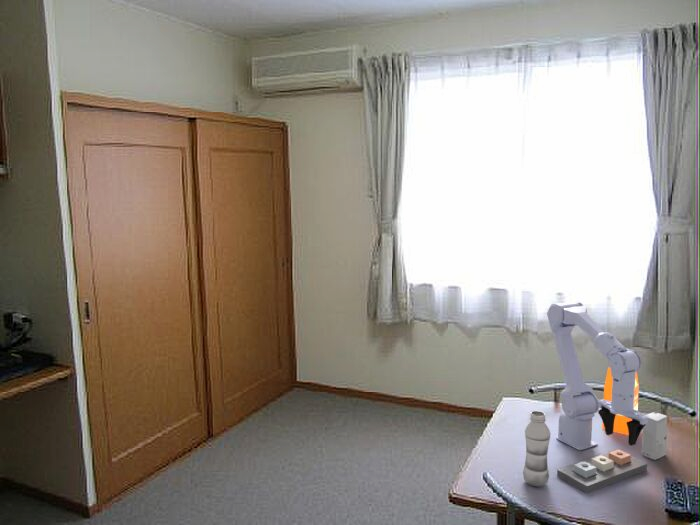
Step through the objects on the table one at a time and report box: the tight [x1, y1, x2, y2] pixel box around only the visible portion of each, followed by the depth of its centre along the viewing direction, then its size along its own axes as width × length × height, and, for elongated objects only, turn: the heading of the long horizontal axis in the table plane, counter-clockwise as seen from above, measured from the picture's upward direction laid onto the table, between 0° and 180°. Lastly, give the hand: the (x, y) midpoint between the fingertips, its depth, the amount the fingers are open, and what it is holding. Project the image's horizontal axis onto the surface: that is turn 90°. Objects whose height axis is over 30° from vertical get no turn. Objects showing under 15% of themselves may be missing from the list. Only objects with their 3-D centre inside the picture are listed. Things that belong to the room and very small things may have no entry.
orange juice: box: [601, 366, 640, 436], centre depth 188 cm, size 8×9×20 cm
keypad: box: [556, 448, 648, 494], centre depth 161 cm, size 10×24×2 cm, turn 117°
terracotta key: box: [608, 449, 632, 465], centre depth 164 cm, size 4×4×2 cm
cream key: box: [591, 454, 614, 471], centre depth 161 cm, size 4×4×2 cm
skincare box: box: [641, 411, 668, 461], centre depth 170 cm, size 6×4×12 cm
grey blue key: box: [573, 460, 596, 478], centre depth 158 cm, size 4×4×2 cm
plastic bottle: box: [522, 410, 551, 488], centre depth 155 cm, size 6×7×20 cm
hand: (620, 439), depth 163 cm, fingers open, 7 cm apart
